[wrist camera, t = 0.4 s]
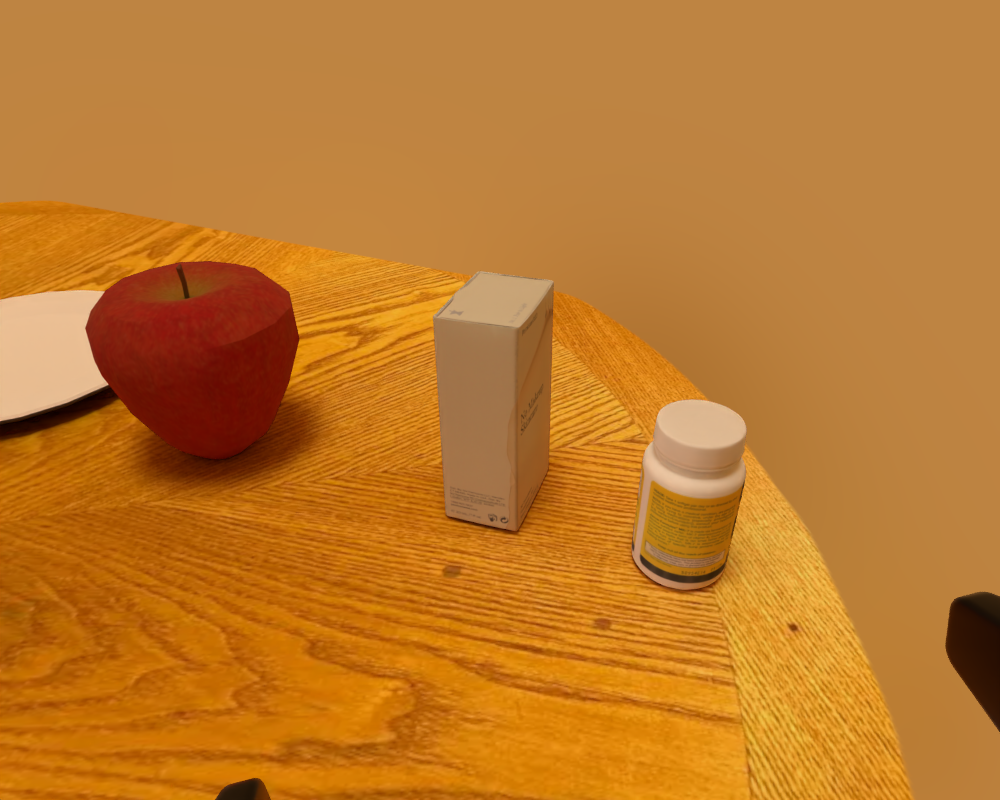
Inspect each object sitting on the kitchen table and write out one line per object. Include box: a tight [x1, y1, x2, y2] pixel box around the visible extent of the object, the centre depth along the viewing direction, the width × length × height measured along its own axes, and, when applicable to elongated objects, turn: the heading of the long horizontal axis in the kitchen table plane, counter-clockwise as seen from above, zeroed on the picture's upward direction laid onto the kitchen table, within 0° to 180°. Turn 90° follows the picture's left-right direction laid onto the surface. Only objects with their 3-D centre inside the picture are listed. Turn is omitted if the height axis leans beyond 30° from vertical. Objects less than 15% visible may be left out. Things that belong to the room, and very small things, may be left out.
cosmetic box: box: [433, 272, 554, 531], centre depth 38 cm, size 6×4×12 cm
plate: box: [0, 290, 110, 424], centre depth 53 cm, size 21×21×2 cm
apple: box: [85, 261, 299, 460], centre depth 42 cm, size 11×11×12 cm
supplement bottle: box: [632, 400, 747, 590], centre depth 35 cm, size 5×5×8 cm
